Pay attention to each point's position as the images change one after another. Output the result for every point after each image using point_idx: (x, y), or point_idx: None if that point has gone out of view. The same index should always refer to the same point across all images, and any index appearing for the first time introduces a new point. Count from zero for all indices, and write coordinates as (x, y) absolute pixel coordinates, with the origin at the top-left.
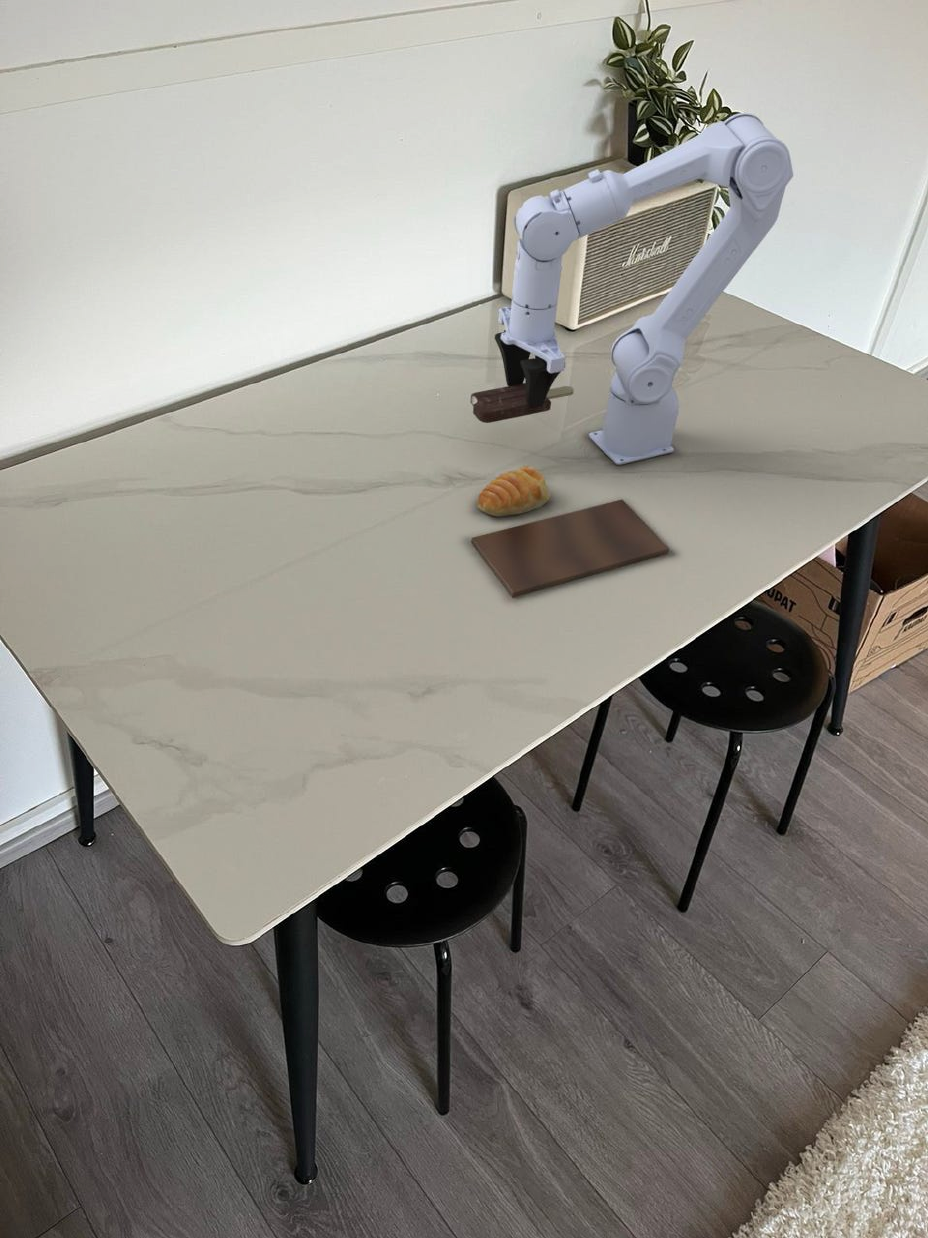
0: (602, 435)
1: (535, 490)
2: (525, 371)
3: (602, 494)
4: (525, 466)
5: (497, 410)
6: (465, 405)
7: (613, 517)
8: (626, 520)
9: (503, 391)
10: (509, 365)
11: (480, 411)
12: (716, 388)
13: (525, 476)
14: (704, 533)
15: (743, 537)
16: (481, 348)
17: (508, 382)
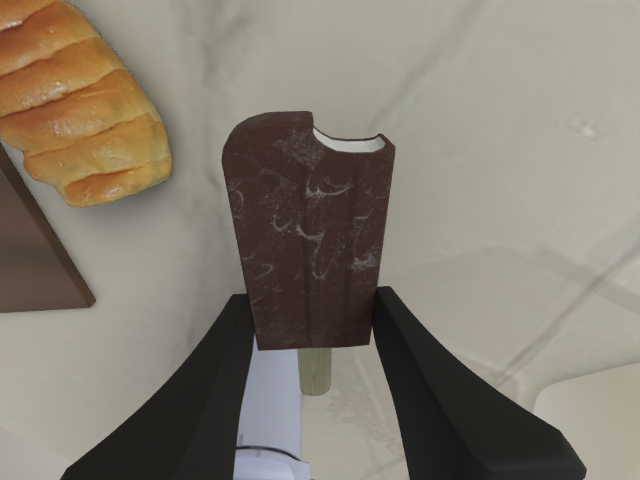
0: None
1: (24, 164)
2: (139, 451)
3: (127, 285)
4: (128, 184)
5: (230, 196)
6: (506, 175)
7: (22, 276)
8: (15, 291)
9: (352, 263)
10: (404, 351)
11: (246, 125)
12: (347, 451)
13: (64, 162)
14: (21, 361)
15: (19, 390)
16: (636, 279)
17: (379, 296)
